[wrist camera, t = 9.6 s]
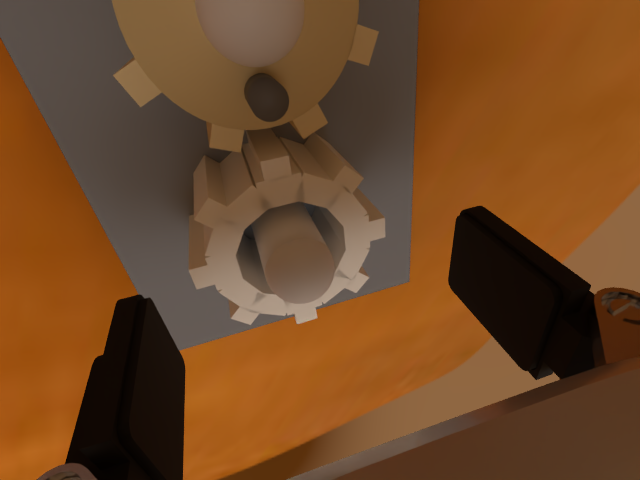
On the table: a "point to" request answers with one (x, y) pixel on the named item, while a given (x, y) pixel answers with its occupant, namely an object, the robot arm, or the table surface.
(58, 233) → the table surface
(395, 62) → the gear board
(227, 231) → the gear
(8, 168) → the table surface
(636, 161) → the table surface
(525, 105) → the table surface
